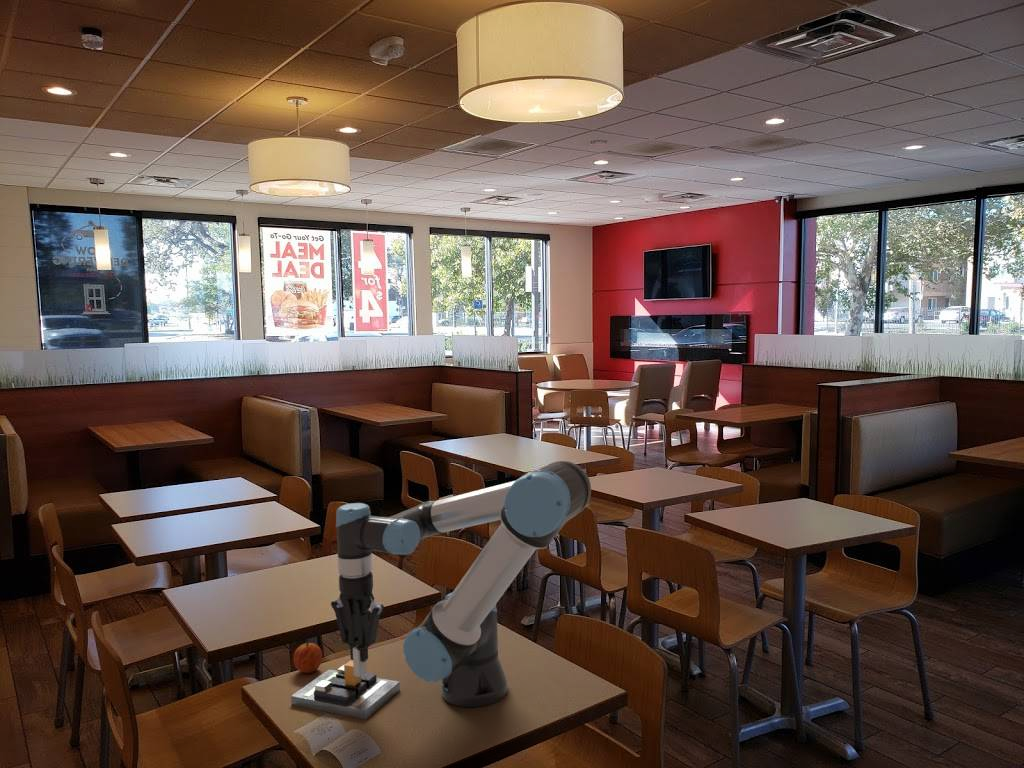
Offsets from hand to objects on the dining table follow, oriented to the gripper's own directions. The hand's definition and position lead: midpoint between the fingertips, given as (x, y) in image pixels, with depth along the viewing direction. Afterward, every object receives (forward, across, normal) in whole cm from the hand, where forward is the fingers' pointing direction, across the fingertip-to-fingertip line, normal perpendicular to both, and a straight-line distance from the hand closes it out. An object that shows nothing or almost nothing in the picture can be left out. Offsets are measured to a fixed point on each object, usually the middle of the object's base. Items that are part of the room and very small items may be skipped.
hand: (360, 673), depth 171 cm
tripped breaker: (+2, +2, 0) cm, 3 cm away
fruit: (+7, +21, -8) cm, 23 cm away
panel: (+6, +4, 0) cm, 7 cm away
